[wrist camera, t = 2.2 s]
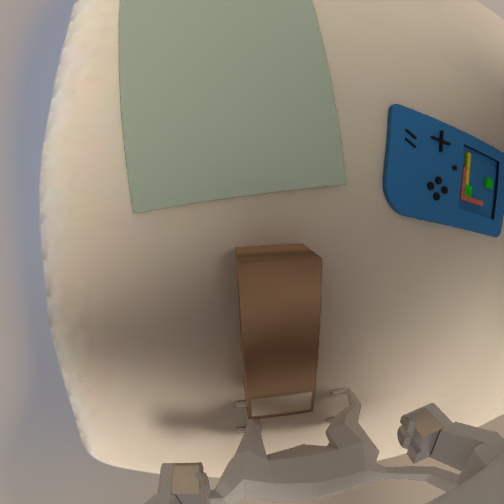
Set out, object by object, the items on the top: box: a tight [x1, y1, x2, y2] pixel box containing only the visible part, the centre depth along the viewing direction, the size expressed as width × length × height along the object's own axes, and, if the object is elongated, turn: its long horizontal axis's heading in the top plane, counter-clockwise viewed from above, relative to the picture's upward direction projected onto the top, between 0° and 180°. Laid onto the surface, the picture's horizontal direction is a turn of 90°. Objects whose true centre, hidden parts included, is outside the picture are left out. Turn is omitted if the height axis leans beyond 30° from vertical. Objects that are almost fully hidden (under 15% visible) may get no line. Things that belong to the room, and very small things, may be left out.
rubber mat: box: [119, 0, 346, 214], centre depth 17 cm, size 14×20×1 cm
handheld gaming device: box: [383, 104, 504, 237], centre depth 20 cm, size 8×1×15 cm
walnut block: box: [236, 244, 322, 419], centre depth 20 cm, size 11×4×5 cm, turn 2°
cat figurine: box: [208, 388, 459, 504], centre depth 17 cm, size 4×20×14 cm, turn 91°
